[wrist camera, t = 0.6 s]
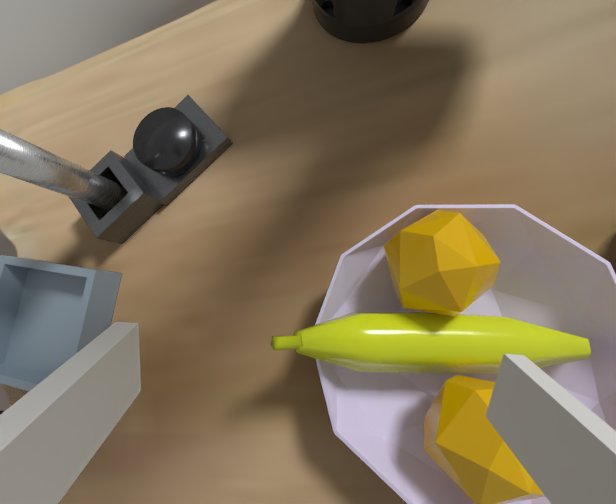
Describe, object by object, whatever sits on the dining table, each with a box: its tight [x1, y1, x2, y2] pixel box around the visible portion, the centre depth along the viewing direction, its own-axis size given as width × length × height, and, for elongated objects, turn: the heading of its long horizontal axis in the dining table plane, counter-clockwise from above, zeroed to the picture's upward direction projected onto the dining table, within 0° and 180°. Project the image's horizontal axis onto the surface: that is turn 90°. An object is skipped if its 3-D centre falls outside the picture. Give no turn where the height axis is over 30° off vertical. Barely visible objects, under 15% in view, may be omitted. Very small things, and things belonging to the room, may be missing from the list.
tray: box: [0, 255, 122, 391], centre depth 39 cm, size 15×15×4 cm
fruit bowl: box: [271, 205, 616, 504], centre depth 27 cm, size 28×27×11 cm
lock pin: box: [0, 129, 128, 210], centre depth 33 cm, size 5×5×19 cm
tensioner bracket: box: [69, 95, 232, 244], centre depth 40 cm, size 20×9×4 cm, turn 131°
